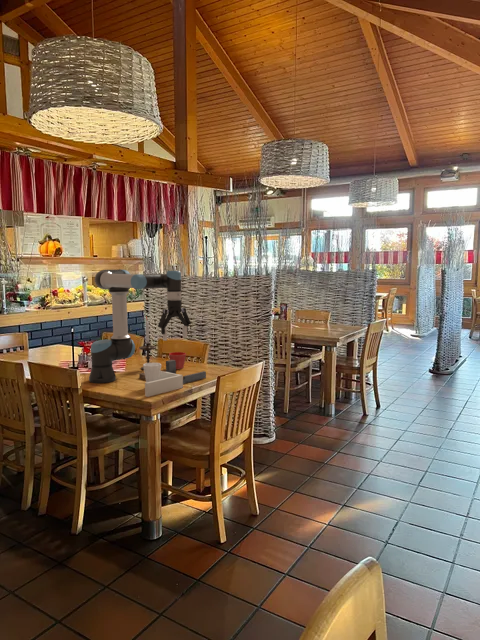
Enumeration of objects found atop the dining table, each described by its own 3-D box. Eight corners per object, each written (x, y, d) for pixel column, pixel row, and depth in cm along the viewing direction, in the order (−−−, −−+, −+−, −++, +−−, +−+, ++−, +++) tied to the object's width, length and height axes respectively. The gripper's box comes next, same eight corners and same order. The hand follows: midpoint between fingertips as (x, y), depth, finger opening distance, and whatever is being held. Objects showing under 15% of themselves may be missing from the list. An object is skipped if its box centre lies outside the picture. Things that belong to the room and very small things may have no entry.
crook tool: (164, 380, 277) (164, 360, 276) (189, 374, 293) (189, 355, 292) (180, 384, 268) (180, 363, 267) (206, 378, 284) (206, 358, 283)
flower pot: (183, 369, 307) (183, 355, 306) (167, 369, 309) (166, 354, 308) (187, 366, 318) (187, 352, 317) (172, 366, 319) (171, 351, 318)
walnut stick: (139, 378, 285) (139, 373, 284) (143, 377, 287) (143, 372, 287) (156, 382, 274) (156, 377, 274) (160, 381, 277) (160, 376, 276)
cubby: (125, 390, 255) (124, 378, 254) (160, 382, 274) (160, 370, 273) (147, 396, 243) (147, 383, 242) (182, 387, 262) (182, 375, 261)
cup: (149, 384, 268) (149, 361, 267) (165, 386, 265) (164, 363, 263) (139, 388, 259) (139, 365, 258) (155, 390, 256) (155, 366, 254)
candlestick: (143, 371, 304) (141, 316, 300) (137, 368, 313) (136, 315, 309) (159, 369, 309) (158, 315, 305) (153, 366, 318) (152, 314, 315)
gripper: (159, 301, 242) (160, 342, 244) (196, 298, 259) (197, 337, 262) (150, 300, 247) (151, 340, 249) (188, 298, 264) (188, 335, 267)
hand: (175, 339), depth 255 cm, fingers open, 13 cm apart
